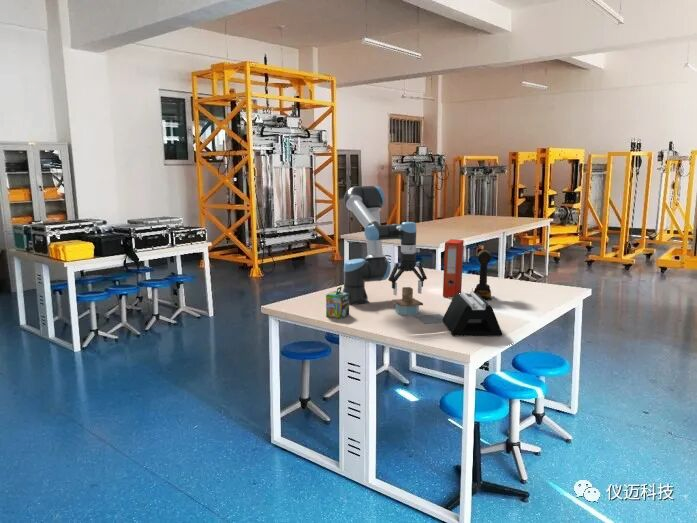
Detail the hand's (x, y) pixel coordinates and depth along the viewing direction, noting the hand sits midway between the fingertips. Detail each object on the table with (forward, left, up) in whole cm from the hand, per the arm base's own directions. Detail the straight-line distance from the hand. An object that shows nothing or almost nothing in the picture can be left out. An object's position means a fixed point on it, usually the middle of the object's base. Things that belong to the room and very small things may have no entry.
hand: (407, 294), depth 288 cm
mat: (+7, -15, -10) cm, 19 cm away
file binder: (+44, +34, -10) cm, 57 cm away
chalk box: (-35, +7, -11) cm, 37 cm away
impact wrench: (+59, +24, -10) cm, 65 cm away
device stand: (+17, -35, -10) cm, 40 cm away
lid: (0, 0, -5) cm, 5 cm away
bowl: (0, 0, -10) cm, 10 cm away
